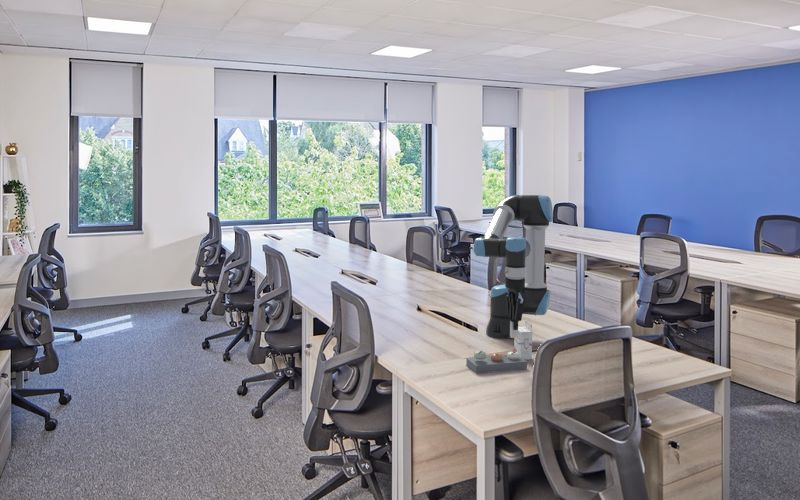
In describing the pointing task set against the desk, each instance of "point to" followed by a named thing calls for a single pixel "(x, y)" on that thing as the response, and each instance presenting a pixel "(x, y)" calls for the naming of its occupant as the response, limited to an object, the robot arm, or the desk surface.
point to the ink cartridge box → (524, 341)
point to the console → (495, 364)
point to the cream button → (513, 355)
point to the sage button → (479, 355)
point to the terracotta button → (496, 357)
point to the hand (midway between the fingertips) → (513, 337)
